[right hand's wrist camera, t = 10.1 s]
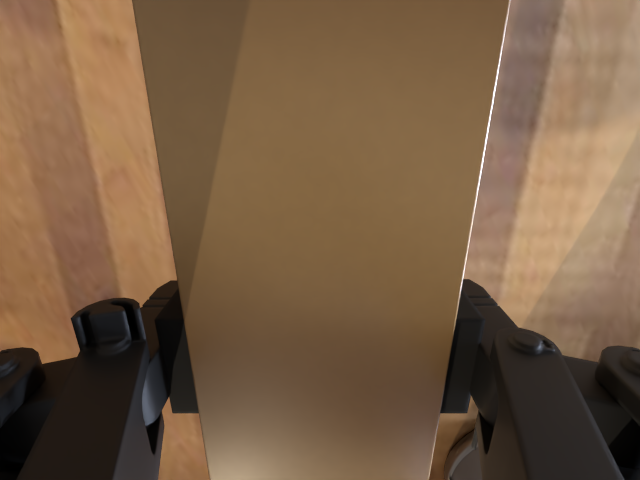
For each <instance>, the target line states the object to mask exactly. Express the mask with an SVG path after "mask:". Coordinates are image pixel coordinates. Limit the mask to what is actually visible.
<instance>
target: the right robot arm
mask: <svg viewBox="0 0 640 480" xmlns="http://www.w3.org/2000/svg"><path fill="white" fill-rule="evenodd" d="M71 321H72V324H73V328H74V331H75V334H76V338H77V341H78V345H79V348H80V352H79V354H78V356H77V357H75V358H71V359H66V360H61V361H55V362H50V363H45V364H42V362H41V360H40V357H39V354H38V352H37V351H35V350H34V349H32V348H23V347H22V348H14V349H6V350H2V351H1V352H0V480H158V474H159V466H160V458H161V449H162V441H163V433H164V420H163V415H162V409H163V407H164V405H165V403H166V401H167V399H168V397H170V403H171V408H172V413H199V410H198V404H197V398H196V392H195V386H194V379H193V373H192V367H191V361H190V355H189V349H188V342H187V336H186V330H185V324H184V318H183V312H182V305H181V299H180V293H179V287H178V281H169V282H168V283H166V284H164V285H162V286H161V287H159V288H157V289H156V291H155V292H154V293H153V294H152V295H151V296H150V297H149V300H147V301H146V302H145V303H144V304H143V307H141V308H140V306H139V303H138V302H137V301H135V300H134V299H129V298H112V299H107V300H103V301H99V302H96V303H94V304H91V305H88V306H86V307H85V308H83V309H81V310H79V311H78V312H77V313H76V314H75V315H74V316H73V317H72V318H71ZM470 396H472V398H473V400H474V402H475V404H476V405H477V407H478V409H479V410H478V415H477V420H476V425H475V429H474V431H472V432H470V433H469V434H467V435H466V436H465V437H463V438H462V439H461V440H460V441H459V442H458V443H457V444H456V445H455V446H454V447H453V449H452V450H451V452H450V453H449V455H448V457H447V459H446V462H445V466H444V477H445V480H640V350H639V349H637V348H633V347H624V346H611V347H607V348H605V349H604V350H602V353H601V356H600V359H599V362H593V361H588V360H583V359H578V358H572V357H568V356H564V355H562V354H561V352H560V350H559V349H558V347H557V346H556V345H555V344H554V343H553V342H552V341H550V340H549V339H547V338H546V337H544V336H542V335H540V334H538V333H536V332H533V331H530V330H526V329H522V328H518V327H517V326H516V325H515V323H514V322H513V321H512V320H511V319H510V318H509V317H508V316H507V314H506V313H505V312H504V311H503V310H502V309H501V308H500V306H497V303H496V302H495V301H494V300H493V298H491V296H490V295H489V294H488V293H487V292H486V290H485V289H484V288H483V287H481V286H480V285H478V284H476V283H475V282H473V281H471V280H469V279H463V282H462V288H461V294H460V300H459V305H458V311H457V317H456V323H455V329H454V335H453V341H452V346H451V352H450V358H449V364H448V370H447V376H446V382H445V387H444V393H443V399H442V405H441V411H440V413H467V412H468V406H469V401H470Z"/></svg>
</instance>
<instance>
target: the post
mask: <svg viewBox="0 0 640 480" xmlns="http://www.w3.org/2000/svg"><path fill="white" fill-rule="evenodd" d="M510 1H511V0H132V3H133V9H134V15H135V21H136V28H137V34H138V40H139V46H140V52H141V59H142V65H143V71H144V77H145V83H146V89H147V96H148V102H149V108H150V114H151V120H152V126H153V133H154V139H155V145H156V151H157V157H158V163H159V170H160V176H161V182H162V188H163V194H164V200H165V207H166V213H167V219H168V225H169V231H170V237H171V244H172V250H173V256H174V262H175V268H176V274H177V281H178V287H179V293H180V299H181V305H182V312H183V318H184V324H185V330H186V336H187V342H188V349H189V355H190V361H191V367H192V373H193V379H194V386H195V392H196V398H197V404H198V410H199V416H200V423H201V429H202V435H203V441H204V447H205V453H206V460H207V466H208V472H209V478H210V480H429V475H430V469H431V464H432V458H433V452H434V446H435V440H436V434H437V428H438V423H439V417H440V411H441V405H442V399H443V393H444V387H445V382H446V376H447V370H448V364H449V358H450V352H451V346H452V341H453V335H454V329H455V323H456V317H457V311H458V305H459V300H460V294H461V288H462V282H463V276H464V270H465V264H466V259H467V253H468V247H469V241H470V235H471V229H472V224H473V218H474V212H475V206H476V200H477V194H478V188H479V183H480V177H481V171H482V165H483V159H484V153H485V147H486V142H487V136H488V130H489V124H490V118H491V112H492V106H493V101H494V95H495V89H496V83H497V77H498V71H499V65H500V60H501V54H502V48H503V42H504V36H505V30H506V24H507V19H508V13H509V7H510Z"/></svg>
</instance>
